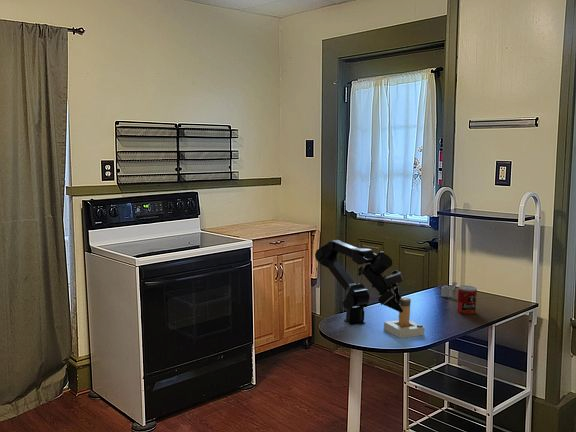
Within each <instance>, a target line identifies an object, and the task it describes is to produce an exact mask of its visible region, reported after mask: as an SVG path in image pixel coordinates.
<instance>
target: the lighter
mask: <svg viewBox="0 0 576 432" xmlns="http://www.w3.org/2000/svg"><path fill="white" fill-rule="evenodd" d="M457 284H458V283H457V282H456V281H453V282H452V284H451V285H450V286H449V285H443V286H441V293H440V297H443V298H450V299H451V294H452V293H451V292H452V291H454V290H455V287H456V286H457Z"/></svg>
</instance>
